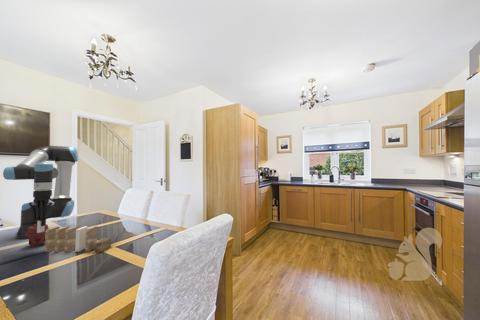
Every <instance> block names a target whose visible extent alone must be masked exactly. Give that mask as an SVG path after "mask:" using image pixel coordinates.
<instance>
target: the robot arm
mask: <svg viewBox="0 0 480 320" xmlns="http://www.w3.org/2000/svg"><path fill="white" fill-rule="evenodd" d="M49 162H54V164H55V165H56V167H54V164H53V163H49ZM76 162H79V154H78V150H77V147H74V146H61V145H59V146H58V145H47V146H46V145H45V146H41V147H38V148H35V149H34V150H32V151H31V152H30V154H29V156H28V157H26V158H25V159H24V160H22V161H21V162H20V163H19V164H16V165H15V166H6V167H5V168H4V169H3V172H2V177H3V178H4V179H5V180H6V181H7V180H9V181H11V180H12V181H18V180H19V181H22V180H33V191H32V197H33V201H30V202H26V203H24V204H22V205H21V209H20V226H19V228H18V230H17V232H16V234H15V239H16V240H23V239H24V240H26V239H29V237H26V236H25V234H26V233H27V232H28V227H31V226H33V225H35V224H36V226H37V233H40V232H43V231H44V230H45V225H46V224H47V220H49V219H57V218H66V217H69V216H71V214H72V213H73V211H74V207H75V201H74V200H73V198H72V197H71V196H70V194H71V193H70V192H71V182H72V173H73V172H72V171H73V166H74V165H75V164H76ZM54 179H55V181H54V182H55V183H54V184H55V185H54V190H52V189H53V180H54ZM53 192H54V193H53ZM52 196H53V197H52Z"/></svg>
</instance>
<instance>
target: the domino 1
mask: <svg viewBox="0 0 480 320" xmlns="http://www.w3.org/2000/svg"><path fill="white" fill-rule="evenodd" d="M59 228H60V226H54V227H50V228H48V229H47V230H46V234H45V244H44V252H45V253H49V252H51V251H55V236H56V229H59Z"/></svg>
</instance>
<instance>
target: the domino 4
mask: <svg viewBox="0 0 480 320" xmlns="http://www.w3.org/2000/svg"><path fill="white" fill-rule="evenodd" d="M88 228H89V225H88V226H86V225H85V226H82V227H78V229H76V242H75V249H74V252H75V253H77V252H78V253H79V252H81V251H83V250H85V242H86V229H88Z"/></svg>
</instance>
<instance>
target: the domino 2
mask: <svg viewBox="0 0 480 320" xmlns="http://www.w3.org/2000/svg"><path fill="white" fill-rule="evenodd" d="M69 228H70V226H63V227H59V229H56V236H55V249H54V253H59V252H61V251H63V250H64V251H65V237H66V229H69Z"/></svg>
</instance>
